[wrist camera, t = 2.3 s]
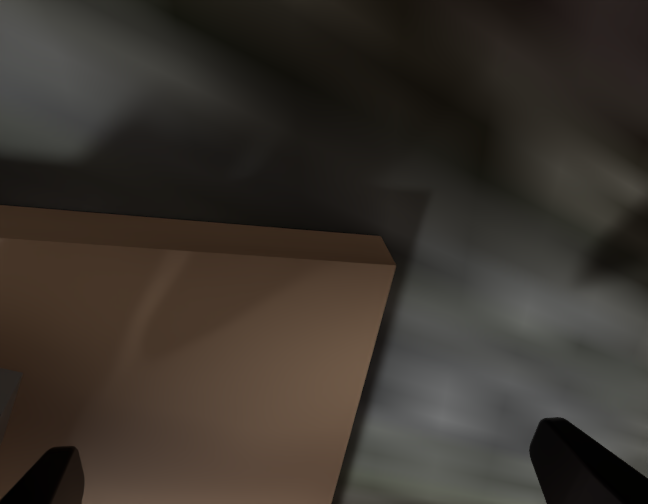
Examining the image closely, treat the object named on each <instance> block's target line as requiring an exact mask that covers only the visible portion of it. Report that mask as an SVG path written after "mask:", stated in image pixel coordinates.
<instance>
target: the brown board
mask: <svg viewBox="0 0 648 504" xmlns="http://www.w3.org/2000/svg"><path fill="white" fill-rule="evenodd" d="M395 269H396V264H395V262H394V260H393V258H392V256H391V255H390V253H389V251H388V249H387V247H386V245H385V243H384V241H383V240H382V238H381V236H373V235H361V234H348V233H336V232H324V231H312V230H300V229H287V228H275V227H263V226H251V225H239V224H226V223H214V222H202V221H190V220H178V219H165V218H153V217H141V216H129V215H117V214H104V213H92V212H80V211H68V210H56V209H43V208H31V207H19V206H7V205H0V368H3V369H8V370H12V371H17V372H21V373H23V375H22V378H21V382H20V385H19V388H18V391H17V395H16V398H15V401H14V404H13V408H12V411H11V414H10V418H9V421H8V424H7V427H6V431H5V434H4V437H3V440H2V443H1V445H0V500H1V499H2V498H3V497H4V496H5V495H6V494H7V492H8V491H9V490H10V489H11V488H12V487H13V486H14V485H15V484H16V483H17V482H18V481H19V480H20V479H21V478H22V477H23V475H24V474H25V473H26V472H27V471H28V470H29V469H30V468H31V467H32V466H33V465H34V464H35V463H36V462H37V461H38V459H39V458H40V457H41V456H42V455H43V454H44V453H45V452H46V451H47V450H49V449H50V448H52V447H61V446H75V447H76V448H77V449H78V451H79V455H80V459H81V464H82V468H83V472H84V477H85V486H84V493H83V499H82V504H331V503H332V499H333V496H334V492H335V488H336V485H337V481H338V477H339V474H340V470H341V466H342V463H343V459H344V455H345V452H346V448H347V444H348V441H349V437H350V433H351V430H352V426H353V422H354V419H355V415H356V411H357V408H358V404H359V400H360V397H361V393H362V389H363V386H364V382H365V378H366V375H367V371H368V367H369V364H370V360H371V356H372V353H373V349H374V345H375V342H376V338H377V334H378V331H379V327H380V323H381V320H382V316H383V312H384V309H385V305H386V301H387V298H388V294H389V290H390V287H391V283H392V280H393V276H394V272H395Z"/></svg>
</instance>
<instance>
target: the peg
mask: <svg viewBox="0 0 648 504" xmlns="http://www.w3.org/2000/svg"><path fill="white" fill-rule="evenodd" d="M22 375H23V373H21V372H17V371H12V370H8V369H3V368H0V445H1V443H2V440H3V437H4V434H5V431H6V427H7V424H8V421H9V418H10V414H11V411H12V408H13V404H14V401H15V398H16V395H17V391H18V388H19V385H20V382H21V378H22Z"/></svg>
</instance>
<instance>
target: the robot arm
mask: <svg viewBox="0 0 648 504" xmlns="http://www.w3.org/2000/svg"><path fill="white" fill-rule="evenodd" d="M529 452H530V458H531V461H532V464H533V466H534V469H535V472H536V475H537V478H538V480H539V483H540V486H541V489H542V492H543V494H544V497H545V500H546V503H547V504H648V478H647V477H645V476H644V475H642V474H641V473H640V472H638V471H637V470H635V469H634V468H633V467H631V466H630V465H628V464H627V463H626V462H624V461H623V460H622V459H620V458H619V457H617V456H616V455H615V454H613V453H612V452H610V451H609V450H608V449H606V448H605V447H603V446H602V445H601V444H599V443H598V442H597V441H595V440H594V439H592V438H591V437H590V436H588V435H587V434H585V433H584V432H583V431H581V430H580V429H578V428H577V427H576V426H574V425H573V424H572V423H570V422H569V421H567V420H566V419H564V418H560V417H556V418H544V419H542V420H541V421H540V422H539V424H538V427H537V429H536V432H535V434H534V436H533V439H532V441H531V444H530V449H529ZM84 486H85V477H84V472H83V468H82V464H81V459H80V455H79V451H78V449H77V448H76V447H75V446H61V447H52V448H50V449H49V450H47V451H46V452H45V453H44V454H43V455H42V456H41V457H40V458H39V459H38V461H37V462H36V463H35V464H34V465H33V466H32V467H31V468H30V469H29V470H28V471H27V472H26V473H25V474H24V475H23V477H22V478H21V479H20V480H19V481H18V482H17V483H16V484H15V485H14V486H13V487H12V488H11V489H10V490H9V491H8V492H7V494H6V495H5V496H4V497H3V498H2V499H1V500H0V504H82V499H83V493H84Z"/></svg>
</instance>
